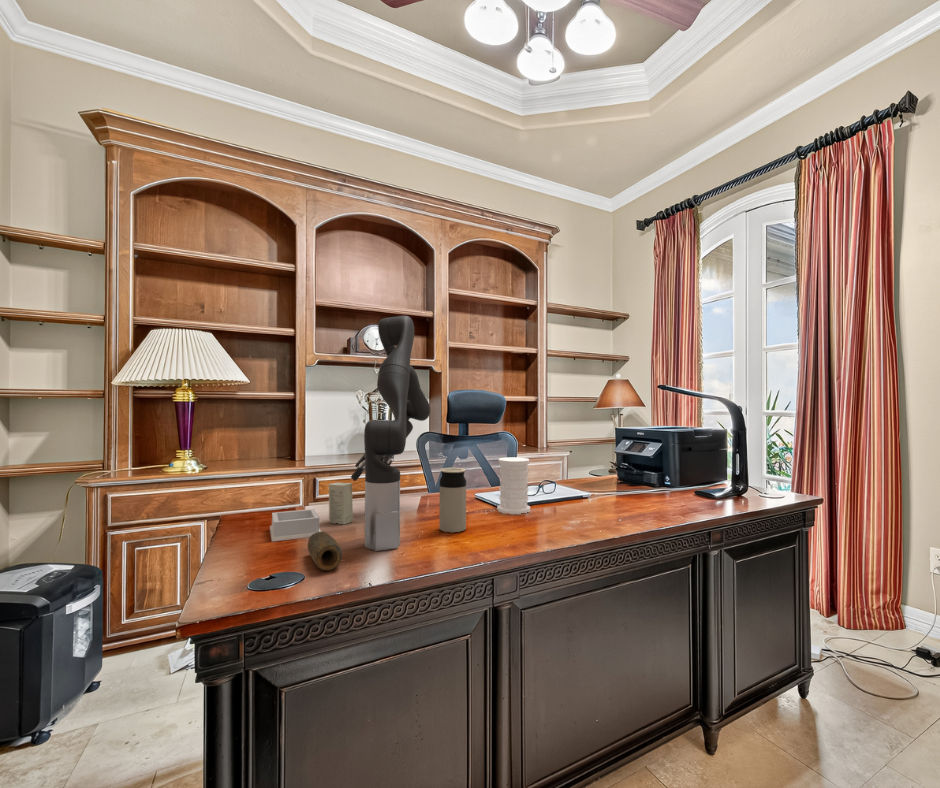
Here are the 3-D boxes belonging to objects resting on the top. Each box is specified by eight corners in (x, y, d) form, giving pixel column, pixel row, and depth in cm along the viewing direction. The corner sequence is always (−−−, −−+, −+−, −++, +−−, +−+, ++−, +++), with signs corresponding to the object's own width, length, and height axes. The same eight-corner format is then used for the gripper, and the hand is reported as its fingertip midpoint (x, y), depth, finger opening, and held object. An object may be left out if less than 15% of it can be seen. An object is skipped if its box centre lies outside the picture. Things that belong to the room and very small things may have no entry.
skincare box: (353, 521, 147) (353, 483, 147) (344, 525, 143) (344, 485, 143) (337, 519, 150) (337, 481, 150) (327, 522, 146) (328, 483, 146)
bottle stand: (321, 535, 132) (321, 518, 132) (271, 541, 126) (272, 523, 126) (315, 524, 143) (315, 508, 144) (269, 529, 138) (270, 512, 138)
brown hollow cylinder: (347, 570, 106) (347, 541, 106) (316, 576, 102) (316, 545, 102) (331, 551, 119) (331, 525, 119) (302, 556, 115) (303, 529, 115)
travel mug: (462, 534, 134) (463, 471, 134) (436, 532, 136) (436, 470, 136) (468, 526, 142) (468, 467, 142) (443, 525, 144) (443, 466, 144)
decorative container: (509, 516, 155) (509, 462, 155) (491, 508, 165) (491, 458, 165) (537, 512, 161) (537, 460, 161) (517, 505, 171) (517, 456, 171)
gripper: (371, 435, 163) (341, 471, 154) (395, 437, 153) (364, 476, 144) (383, 449, 166) (355, 485, 158) (408, 452, 156) (379, 491, 148)
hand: (359, 481), depth 151 cm, fingers open, 8 cm apart
